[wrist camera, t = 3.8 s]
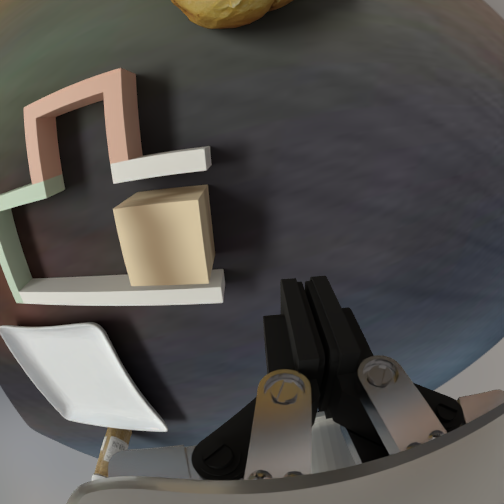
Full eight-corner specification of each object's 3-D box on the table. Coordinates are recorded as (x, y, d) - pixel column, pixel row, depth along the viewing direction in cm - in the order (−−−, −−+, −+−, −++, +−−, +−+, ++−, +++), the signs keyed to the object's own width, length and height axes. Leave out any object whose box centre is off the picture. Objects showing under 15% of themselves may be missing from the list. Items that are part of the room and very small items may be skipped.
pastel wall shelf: (203, 61, 17) (196, 50, 14) (225, 283, 25) (223, 302, 22) (-8, 134, 17) (-26, 138, 15) (29, 289, 25) (16, 302, 23)
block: (208, 184, 21) (198, 199, 17) (215, 253, 24) (208, 283, 19) (137, 191, 21) (112, 209, 17) (150, 257, 24) (131, 286, 19)
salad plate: (108, 305, 27) (96, 325, 23) (173, 416, 35) (170, 434, 32) (5, 314, 28) (-7, 327, 24) (72, 406, 36) (66, 420, 33)
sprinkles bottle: (104, 421, 37) (85, 482, 25) (119, 419, 36) (101, 485, 24) (121, 434, 39) (106, 493, 26) (138, 432, 38) (123, 496, 26)
